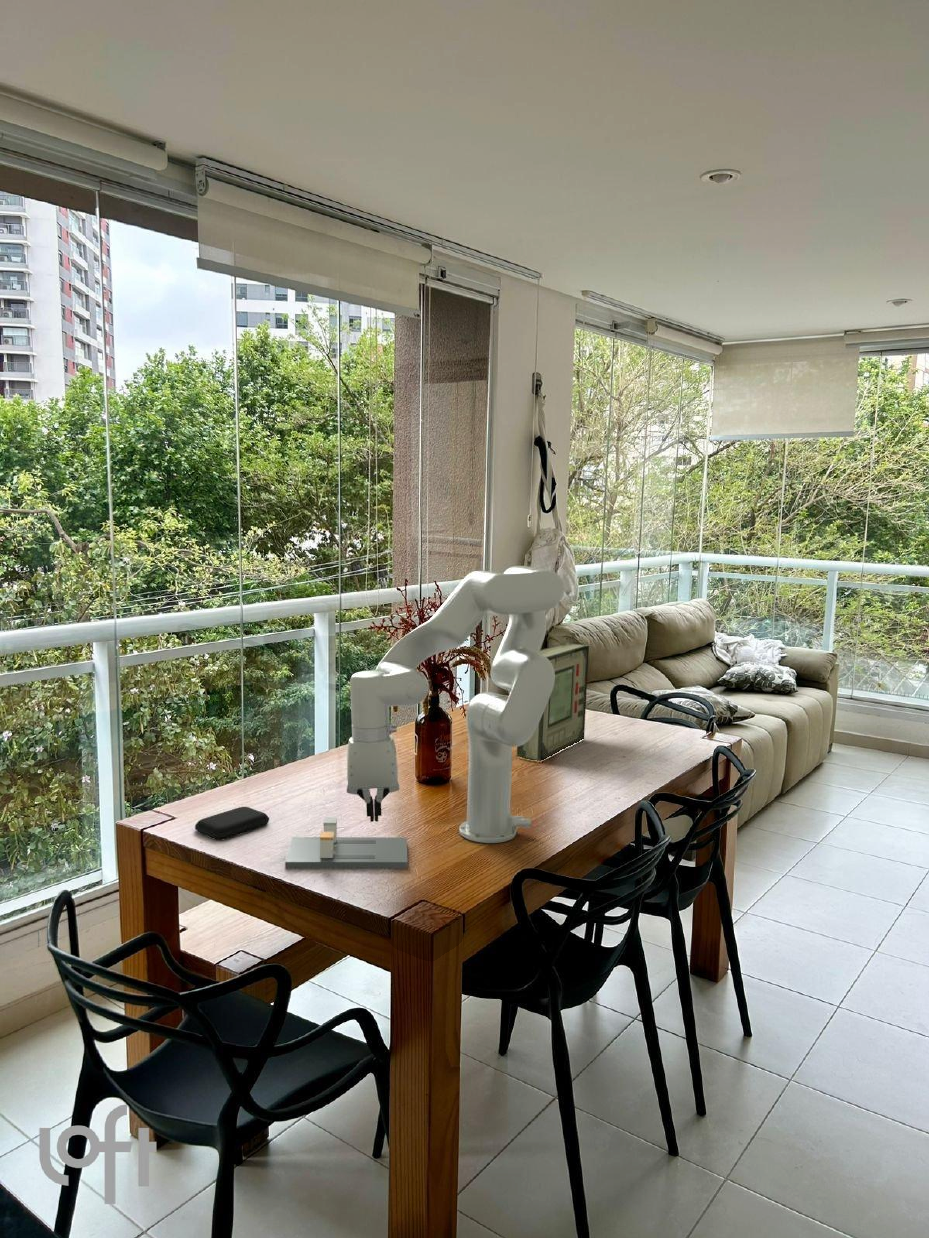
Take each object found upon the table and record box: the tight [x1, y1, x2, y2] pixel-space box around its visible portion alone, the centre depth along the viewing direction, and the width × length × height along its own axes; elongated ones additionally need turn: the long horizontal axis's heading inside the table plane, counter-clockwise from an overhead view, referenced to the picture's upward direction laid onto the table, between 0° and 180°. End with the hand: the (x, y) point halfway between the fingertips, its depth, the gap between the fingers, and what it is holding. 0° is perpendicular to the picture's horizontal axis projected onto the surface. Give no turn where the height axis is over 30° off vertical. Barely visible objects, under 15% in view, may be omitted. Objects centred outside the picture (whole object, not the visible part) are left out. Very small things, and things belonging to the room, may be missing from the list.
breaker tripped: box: [319, 831, 334, 858], centre depth 180 cm, size 3×3×4 cm
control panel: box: [516, 642, 590, 761], centre depth 268 cm, size 30×8×30 cm, turn 148°
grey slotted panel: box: [284, 836, 408, 870], centre depth 185 cm, size 24×13×2 cm, turn 94°
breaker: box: [323, 816, 338, 843], centre depth 188 cm, size 3×3×4 cm
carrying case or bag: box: [194, 806, 270, 841], centre depth 199 cm, size 11×3×15 cm
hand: (374, 818), depth 185 cm, fingers closed
